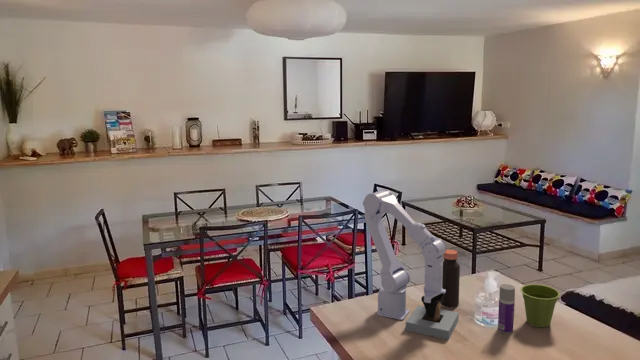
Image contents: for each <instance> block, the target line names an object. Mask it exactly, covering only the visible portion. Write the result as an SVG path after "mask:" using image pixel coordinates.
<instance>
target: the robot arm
mask: <svg viewBox="0 0 640 360" xmlns="http://www.w3.org/2000/svg"><path fill="white" fill-rule="evenodd" d="M362 206H363V209H364V220H365V223H366V226H367V229H368V230H369V231H368V232H369V233H370V236H371V239H372V242H373V244H374V247H375V249H376V252H377V255H378V258H379V260H380V263H381V265H382V266H381V269H380V272H379V275H380V281H381V287H380V289H379V290H378V294H377V313H376V314H377V316H381V317H385V318H386V317H387V318H391V319H395V320H400V321H403V320H404V319H405V318H406V316H407V315H408V314H409V312H410V309H407V285H408V284H409V283H410V280H411V276H410V273H409V271H408V270H407V269H405V267H404V264H403V263H402V262H400V261H399V260H398V258H397V256H396V254H395V251H394V248H393V246H392V243H391V241H390V237H389V235H388V233H387V230H386V227H385V225H384V221H383V219H382V218H383V217H384V215H385V214H390V215H392V217H393V218H395V220H397V221H398V223H400V224H401V225H402V226H403V227H405V228H406V229H407V235H408V237H409V238H411V240H413V242H414V243H415V244H416V245H417V246H418V247H419V248H420V249H421V255H422V256H423V259H424V287H423V294H424V295H422V296H421V298H420V299H421V303H422V304H423V306H425V309H426V314H427V318H432V319H434V317H435V312H436V307H437V304H438V302H439V301H440V302H441V299H442V296H443V295H444V293H445V292H446V290H445V289H443V288H442V277H443V261H444V257H443V254H444V253H445V252H446V250H447V245H446V243H445V242H444V240H443V239H441V238H439V237H436V236H435V235H433V234H432V233H431V232H430V231H429V230H428V228H426V225H425V224H423V223H421V222H417V221H415V220H414V219H413V218H412V217H411V216H410V215H409V213H407V211H406V210H405V209H404V208H403V206H402V205H401V204H400V203H399V201H398V198H397V197H396V196H395V194H393V193H392V192H391V191H390V190H389V189H381V190H378V191H375V192H372V193H368V194H367V195H366V196H365V197H364V199H363V201H362Z"/></svg>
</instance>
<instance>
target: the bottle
mask: <svg viewBox="0 0 640 360" xmlns="http://www.w3.org/2000/svg"><path fill="white" fill-rule="evenodd" d="M442 256H443V277H442V288H443V289H445V290H446V292H445V293H444V295H443V296H442V299H441V302H440V306H443V307H446V308H456V307H457V306H459V303H460V279H461V278H460V274H461V273H460V272H461V265H460V264H459V263H458V262H457V260H458V251H457V250H454V249H446V252H445V253H444V254H443V255H442Z"/></svg>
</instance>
